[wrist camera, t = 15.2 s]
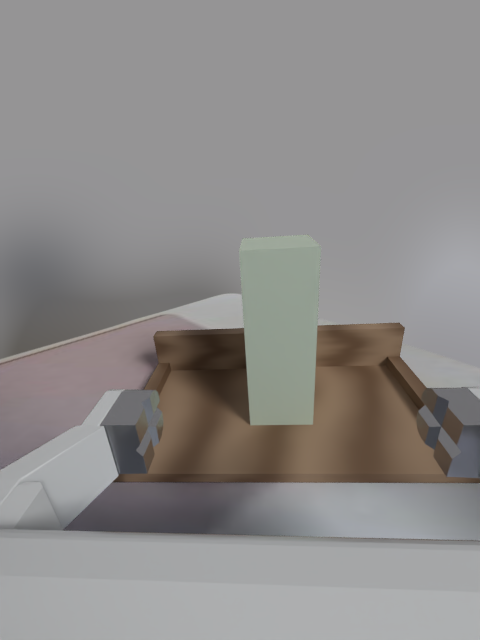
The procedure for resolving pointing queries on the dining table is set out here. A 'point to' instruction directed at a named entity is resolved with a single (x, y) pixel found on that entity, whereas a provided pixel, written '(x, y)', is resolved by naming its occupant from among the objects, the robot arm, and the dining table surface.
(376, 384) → the tray
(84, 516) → the dining table surface
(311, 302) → the sage block
